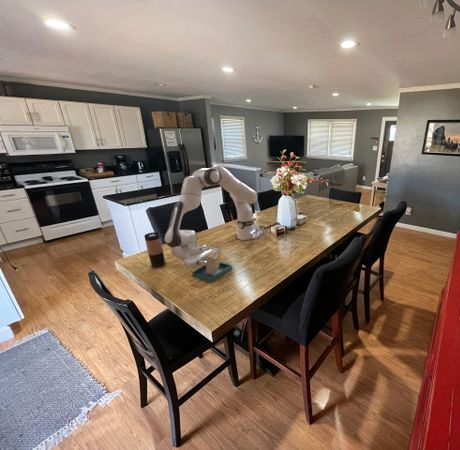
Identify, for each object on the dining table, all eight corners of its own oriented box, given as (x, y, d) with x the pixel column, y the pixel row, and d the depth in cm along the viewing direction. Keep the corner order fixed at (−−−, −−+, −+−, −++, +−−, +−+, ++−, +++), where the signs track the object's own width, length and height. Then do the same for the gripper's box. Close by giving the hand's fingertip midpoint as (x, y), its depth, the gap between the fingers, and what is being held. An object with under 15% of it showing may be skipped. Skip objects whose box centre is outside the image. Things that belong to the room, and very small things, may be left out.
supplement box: (213, 276, 133) (215, 259, 126) (205, 273, 133) (207, 256, 126) (219, 266, 140) (222, 249, 133) (211, 264, 140) (213, 247, 133)
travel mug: (149, 265, 145) (142, 234, 138) (163, 260, 150) (156, 231, 143) (153, 269, 140) (146, 238, 133) (167, 264, 145) (161, 234, 138)
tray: (213, 263, 147) (213, 260, 146) (232, 268, 141) (231, 265, 140) (192, 276, 133) (192, 272, 132) (211, 282, 128) (211, 278, 127)
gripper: (178, 257, 130) (196, 263, 124) (206, 243, 147) (224, 248, 142) (180, 267, 132) (198, 273, 126) (208, 253, 149) (225, 257, 144)
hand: (212, 260), depth 134 cm, fingers closed on supplement box, 6 cm apart
